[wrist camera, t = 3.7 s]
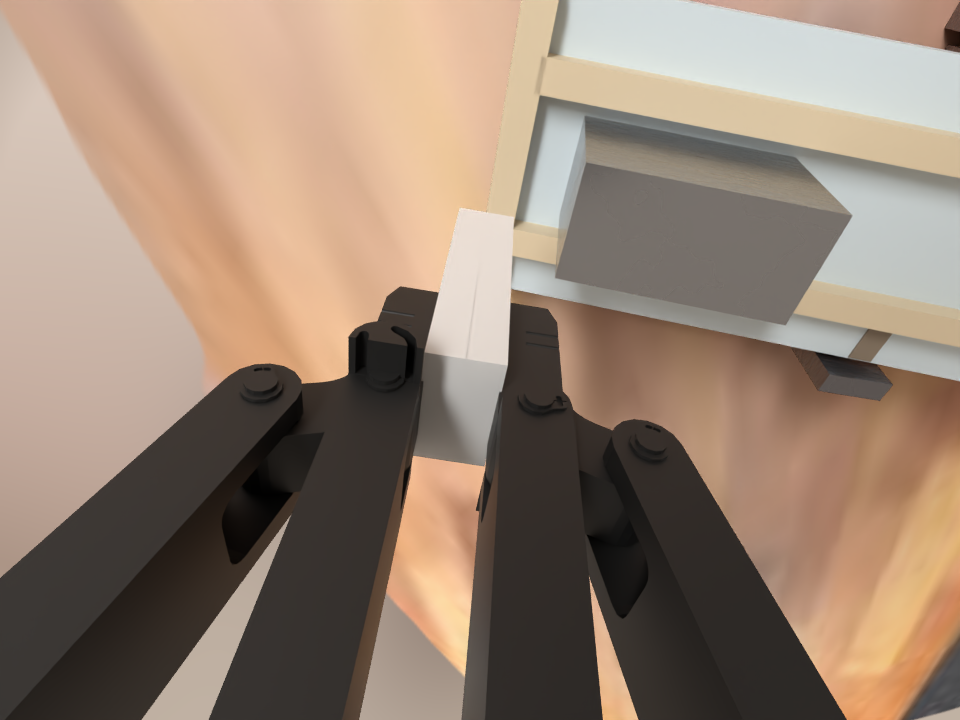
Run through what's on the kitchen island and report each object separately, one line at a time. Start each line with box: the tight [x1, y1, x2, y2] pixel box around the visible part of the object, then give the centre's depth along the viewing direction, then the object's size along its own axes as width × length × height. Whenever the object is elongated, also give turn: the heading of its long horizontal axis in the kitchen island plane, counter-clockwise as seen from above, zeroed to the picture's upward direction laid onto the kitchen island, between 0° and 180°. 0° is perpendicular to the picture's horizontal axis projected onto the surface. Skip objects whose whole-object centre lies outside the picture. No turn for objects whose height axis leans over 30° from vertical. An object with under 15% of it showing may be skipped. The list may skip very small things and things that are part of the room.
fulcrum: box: [790, 3, 960, 401], centre depth 23 cm, size 15×3×6 cm, turn 172°
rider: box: [555, 116, 853, 326], centre depth 20 cm, size 4×8×6 cm, turn 81°
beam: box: [486, 0, 960, 381], centre depth 22 cm, size 12×36×2 cm, turn 82°
